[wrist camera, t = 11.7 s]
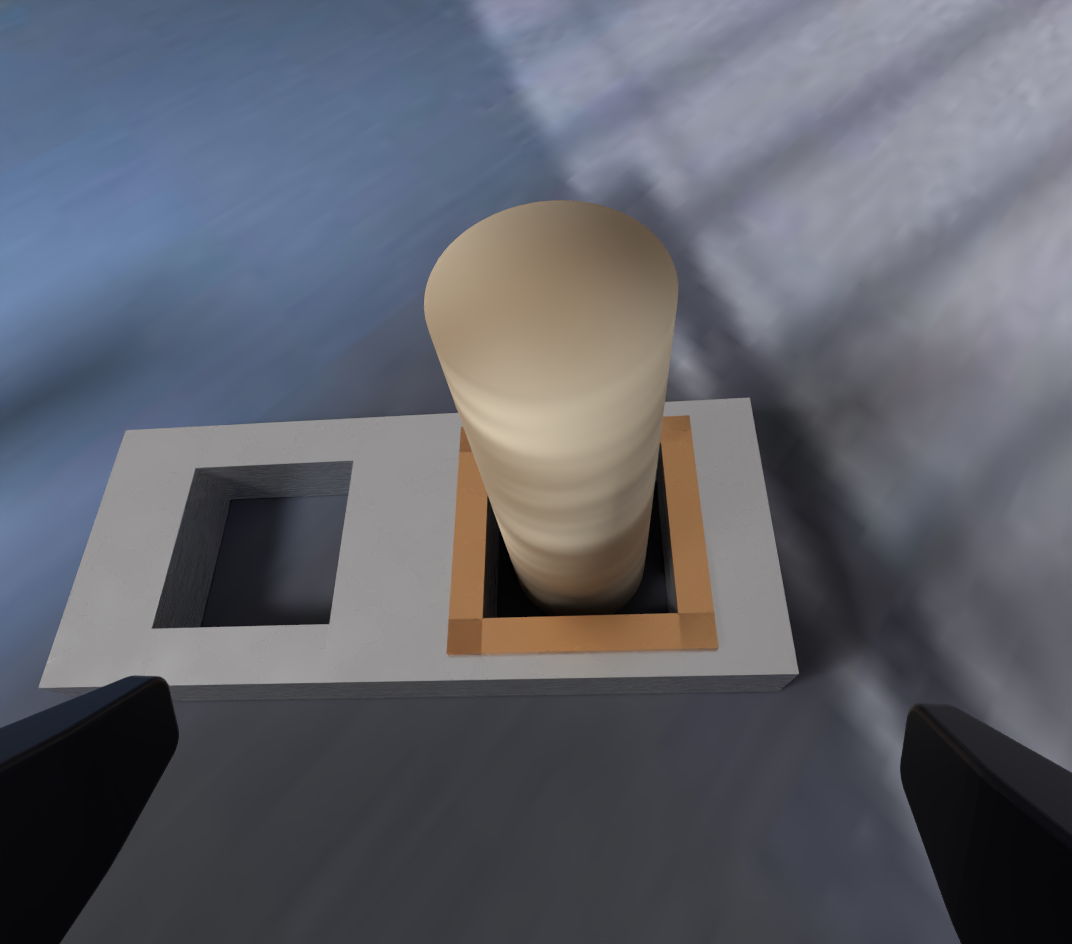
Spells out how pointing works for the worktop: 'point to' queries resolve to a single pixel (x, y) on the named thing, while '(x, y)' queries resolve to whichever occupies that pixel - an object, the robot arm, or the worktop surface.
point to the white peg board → (417, 571)
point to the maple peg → (561, 388)
